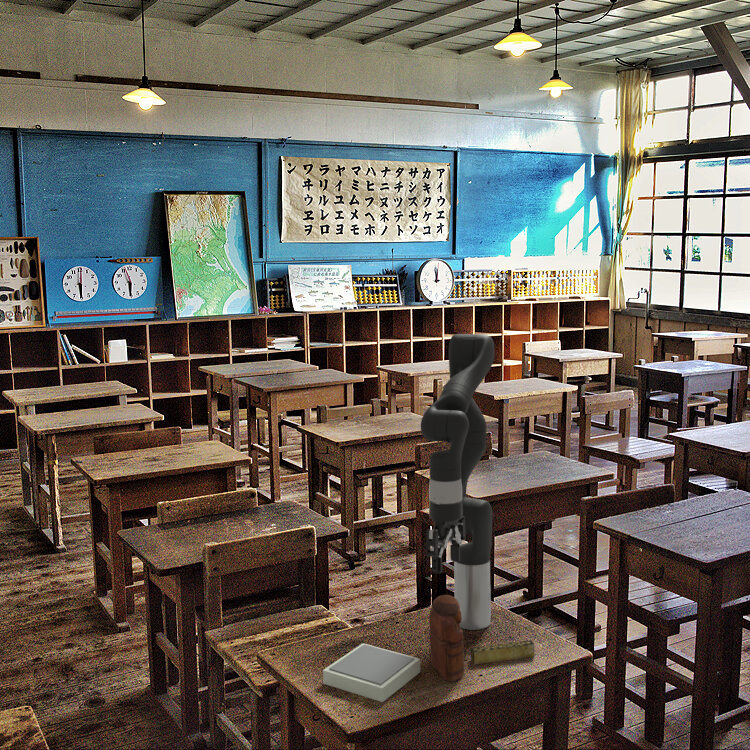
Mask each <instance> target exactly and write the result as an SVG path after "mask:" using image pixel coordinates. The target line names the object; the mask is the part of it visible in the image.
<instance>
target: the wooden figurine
mask: <svg viewBox="0 0 750 750" xmlns="http://www.w3.org/2000/svg"><path fill="white" fill-rule="evenodd" d="M429 610H430V611H429V618H428V619H429V621H428V623H429V644H430V645H429V647H430V657H431V666H432V667H433V669H435V671H437V673H438V674H439V675H440V676H441V677H442V678H443V679H445V681H446V682H456V681H457V680H460V679H461V678H462V677H463V676H464V673H465V653H464V652H465V651H464V631H463V628H460V624H459V623H461V620H462V617H461V611H460V605H459V602H458V601H457V599H455V596H452V595H451V594H442V595H438V596H437V597H436V598H435V599H434V600H433V601H432V605H431V608H430V609H429Z"/></svg>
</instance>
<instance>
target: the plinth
mask: <svg viewBox="0 0 750 750" xmlns="http://www.w3.org/2000/svg"><path fill="white" fill-rule="evenodd" d="M420 673H421V659H420V658H418V657H415V656H411V655H408V654H404V653H401V652H396V651H393V650H389V649H386V648H382V647H378V646H374V645H371V644H367V643H364V642H363V643H361V644H359V645H357V647H355V648H353V649H352V650H351V651H349V652H348V653H346V654H345V655H343V656H342V657H340V658H339V659H337V660H336V661H335V662H333V663H331V664H330V665H329V666H327V667H326V668H324V669H323V670H322V680H323V681H322V682H323V683H322V684H323V685H326V686H330V687H333V688H336V689H339V690H343V691H345V692H348V693H352V694H356V695H359V696H362V697H365V698H368V699H370V700H374V701H378V702H381V703H383V702H385V701H386V700H387V699H389V698H390V697H391V696H392V695H394V694H395V693H396V692H397V691H399V690H400V689H401V688H402V687H403V686H405V685H406V684H407V683H408V682H410V681H411V680H412V679H414V678H415V677H416V676H418V674H420Z"/></svg>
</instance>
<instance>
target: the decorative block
mask: <svg viewBox="0 0 750 750" xmlns="http://www.w3.org/2000/svg"><path fill="white" fill-rule="evenodd" d="M530 657H531V658H532V657H535V643H534V642H533V641H532V640H521V641H514V642H513V641H512V642H507V643H500V644H499V643H498V644H490V645H482V646H477V647H476V646H475V647H470V660H471V662H472V664H473V665H479V664H486V663H494V662H500V661H509V660H515V659H516V660H517V659H518V660H519V659H525V658H530Z"/></svg>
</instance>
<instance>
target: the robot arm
mask: <svg viewBox="0 0 750 750" xmlns="http://www.w3.org/2000/svg"><path fill="white" fill-rule="evenodd" d="M494 360H495V344H494V340H493V338H492V337H491V336H490V335H488V334H482V333H479V334H477V333H474V334H473V333H457V334H452V335H451V337H450V340H449V343H448V364H449V365H448V366H449V368H448V369H449V380H447V382H446V383H445V385H444V387H443V389H442V391H441V394H440V395H439V398H438V399H436V401H435V402H433V403H432V404H431V405H430V406H428V408H427V409H426V410H425V412H424V414H423V415H422V418H421V421H420V432H421V434H422V436H423V438H425V439H426V440H427V441H431V442H441V443H442V442H444V443H449V448H448V449H443V450H438V451H433V452H432V453H431V454H430V457H429V483H428V484H429V485H428V510H429V511H428V514H429V515H428V517H429V518H430V519H431V520H432V521H433V522H434V524H433V525H434V526H433V528H432V529H429V528H428V529H426V531H425V556H427V557H431V571H432V573H435V574H439V575H440V574H441V573H443V557H442V556H443V553H444V550H445V549H447V547H448V544H450V552H449V553H450V561H451V562H453V564H454V565H453V568H454V569H453V576H454V579H453V580H454V581H453V582H454V583H453V585H454V586H453V587H454V598H455V599H457V601H458V602H459V605H460V611H461V617H462V620H461V623H459V624H460V629H462V630H463V629H464V630H468V631H474V630H475V631H476V630H483V629H486V628H488V627H489V626H490V625H491V619H492V617H491V615H492V614H491V612H492V611H491V609H492V605H491V602H492V601H491V600H492V599H491V595H492V594H491V591H492V588H491V587H492V586H491V560H490V559H491V549H492V540H493V538H492V536H493V534H492V532H493V517H494V515H493V509H492V505H491V503H490V502H489V501H488V500H485V499H479V498H472V497H467V486H468V482H469V478H470V476H471V474H472V473H473V471H474V469H476V466H477V465H478V464H479V462H480V460H481V459H482V457H483V455H484V454H485V452H486V449H487V448H486V447H487V421H486V418H485V416H484V414H483V413H482V411H481V408H479V406H478V404H477V403H476V401H475V399H474V398H473V396H474V394H475V392H476V391H477V389H478V387H479V386H480V384H481V383H482V382H483V380H484V379H485V377H486V376H487V374H488V373H489V372H490V370H491V367H492V366H493V363H494ZM466 535H469V536H470V535H471V536H472V539H471V542H466V543H463V541H465V540H466V539H467V538H466V537H467V536H466Z"/></svg>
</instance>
